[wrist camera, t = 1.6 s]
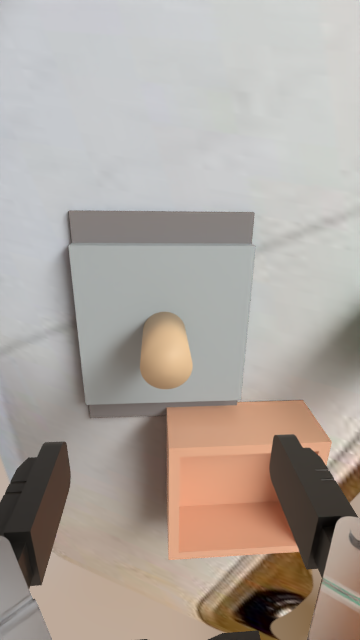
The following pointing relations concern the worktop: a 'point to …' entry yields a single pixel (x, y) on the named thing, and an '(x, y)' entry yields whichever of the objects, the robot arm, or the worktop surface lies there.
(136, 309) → the lid
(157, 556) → the worktop surface
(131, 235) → the mat
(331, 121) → the worktop surface
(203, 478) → the dish
